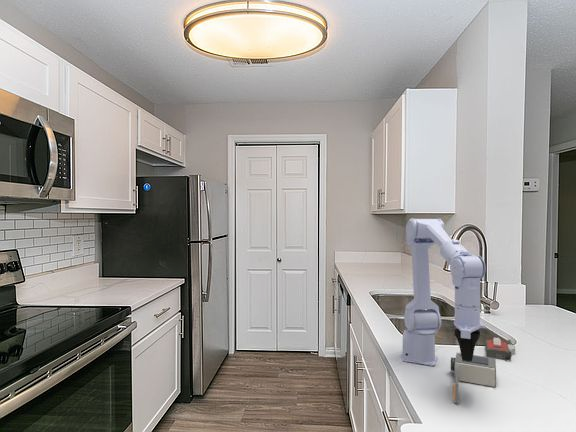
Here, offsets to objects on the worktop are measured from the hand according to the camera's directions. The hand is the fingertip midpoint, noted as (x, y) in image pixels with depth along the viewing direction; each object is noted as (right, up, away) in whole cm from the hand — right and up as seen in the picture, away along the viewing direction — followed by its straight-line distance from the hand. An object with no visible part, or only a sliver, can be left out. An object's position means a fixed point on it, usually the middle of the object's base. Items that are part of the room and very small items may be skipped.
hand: (467, 359), depth 96 cm
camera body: (+8, -9, +12) cm, 17 cm away
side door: (-1, -9, +3) cm, 10 cm away
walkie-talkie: (+27, -10, +34) cm, 44 cm away
